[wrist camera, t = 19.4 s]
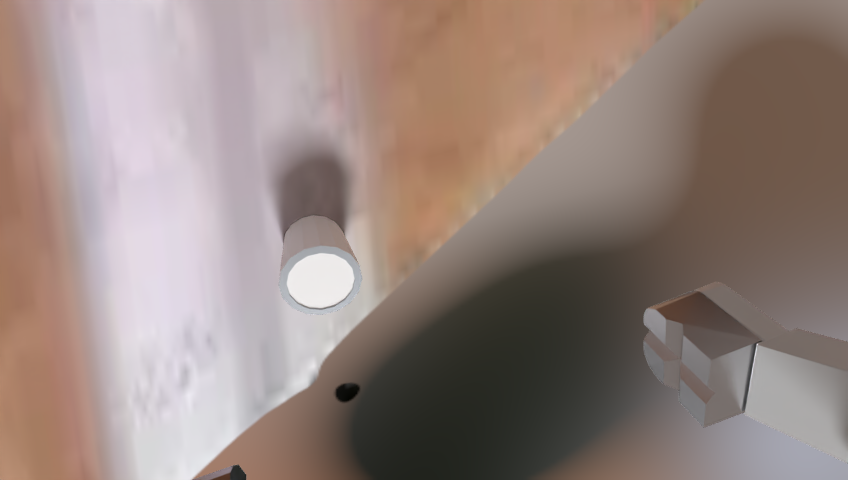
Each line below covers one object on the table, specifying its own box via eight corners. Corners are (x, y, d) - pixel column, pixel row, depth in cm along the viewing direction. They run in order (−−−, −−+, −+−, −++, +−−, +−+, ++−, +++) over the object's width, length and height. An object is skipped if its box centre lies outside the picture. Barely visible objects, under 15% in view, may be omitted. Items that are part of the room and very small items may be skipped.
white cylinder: (274, 210, 47) (276, 249, 41) (350, 207, 48) (363, 243, 42) (278, 275, 50) (280, 319, 44) (350, 270, 52) (361, 311, 46)
